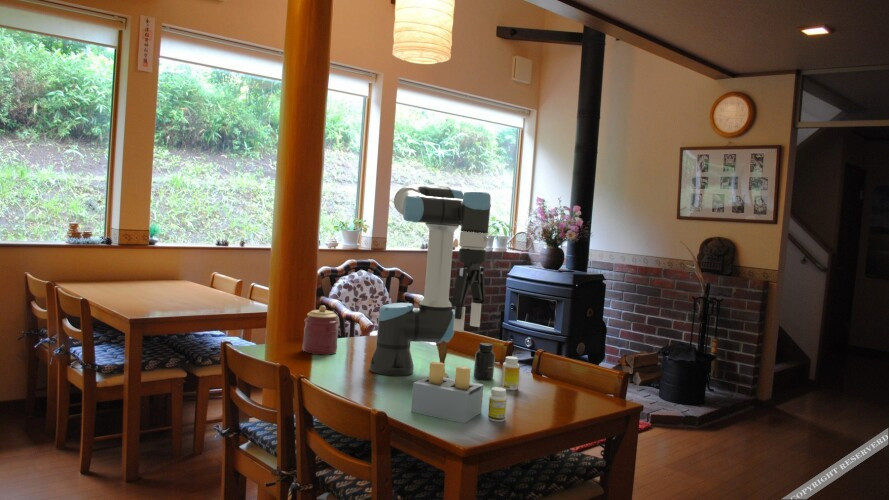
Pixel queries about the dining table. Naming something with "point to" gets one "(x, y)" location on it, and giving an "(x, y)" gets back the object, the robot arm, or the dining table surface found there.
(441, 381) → the peg
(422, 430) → the dining table surface
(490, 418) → the supplement bottle
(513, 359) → the supplement bottle
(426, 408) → the socket block
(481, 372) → the supplement bottle
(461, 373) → the peg
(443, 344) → the hand bell
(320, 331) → the canister
